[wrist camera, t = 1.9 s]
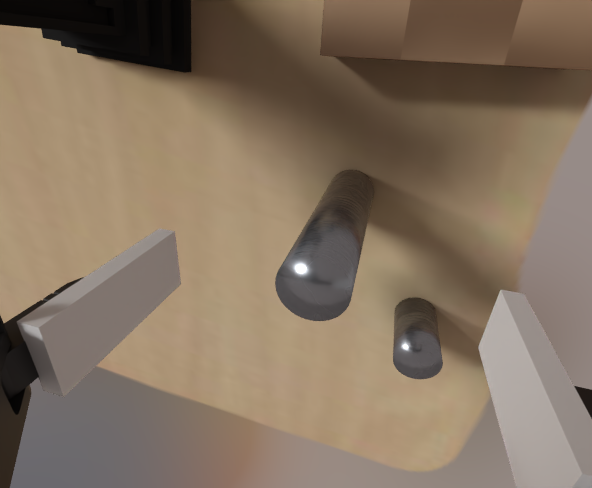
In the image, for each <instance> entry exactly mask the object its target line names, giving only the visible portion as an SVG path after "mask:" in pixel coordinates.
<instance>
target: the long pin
mask: <svg viewBox="0 0 592 488" xmlns="http://www.w3.org/2000/svg"><path fill="white" fill-rule="evenodd" d="M373 195H374V188H373V184H372V182H371V180H370V179H369V177H368V176H367V175H365V174H364V173H362V172H360V171H357V170H345V171H342V172H340V173H339V174H337V175H336V176H335V177H334V178H333V180H332V182H331V183H330V185H329V187H328V188H327V190H326V192H325V193H324V195H323V197H322V198H321V200H320V202H319V203H318V205H317V207H316V208H315V210H314V212H313V213H312V215H311V217H310V219H309V220H308V222H307V224H306V225H305V227H304V229H303V230H302V232H301V234H300V235H299V237H298V239H297V240H296V242H295V244H294V245H293V247H292V249H291V250H290V252H289V254H288V256H287V257H286V259H285V261H284V262H283V264H282V266H281V267H280V269H279V271H278V273H277V276H276V281H275V285H276V291H277V294H278V296H279V298H280V300H281V302H282V303H283V304H284V305H285V306H286V307H287V308H288V309H289V310H290V311H291V312H293V313H294V314H296V315H298V316H300V317H302V318H304V319H308V320H313V321H326V320H330V319H333V318H336V317H338V316H339V315H341V314H342V313H343V312H344V311H345V310H346V309H347V307H348V306H349V303H350V301H351V296H352V292H353V287H354V282H355V278H356V273H357V269H358V264H359V259H360V255H361V250H362V246H363V241H364V236H365V232H366V227H367V223H368V218H369V213H370V209H371V204H372V200H373Z"/></svg>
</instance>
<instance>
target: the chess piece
mask: <svg viewBox="0 0 592 488" xmlns="http://www.w3.org/2000/svg"><path fill="white" fill-rule="evenodd" d="M0 25H10V26H21V27H31V28H41V29H42V34H43V38H46V39H52V40H57V41H61V46H65V47H70V48H76V49H77V53H82V54H87V55H93V56H98V57H104V58H109V59H114V60H120V61H125V62H131V63H136V64H142V65H147V66H153V67H158V68H163V69H169V70H174V71H180V72H191V0H0Z"/></svg>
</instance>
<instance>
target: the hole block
mask: <svg viewBox="0 0 592 488" xmlns="http://www.w3.org/2000/svg"><path fill="white" fill-rule="evenodd" d="M320 55H324V56H334V57H353V58H371V59H389V60H407V61H426V62H444V63H462V64H481V65H499V66H517V67H535V68H554V69H575V70H592V0H324V10H323V24H322V38H321V52H320Z"/></svg>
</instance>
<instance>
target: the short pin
mask: <svg viewBox="0 0 592 488" xmlns="http://www.w3.org/2000/svg"><path fill="white" fill-rule="evenodd" d="M393 362H394V365H395V367H396V368H397V370H398V371H399V372H400V373H402V374H403V375H405V376H407V377H410V378H414V379H427V378H431V377H433V376H435V375H436V374H438V373H439V372H440V370H441V368H442V365H443V362H442V355H441V347H440V340H439V332H438V325H437V317H436V311H435V308H434V307H433V305H432V304H431V303H429V302H428V301H426V300H424V299H421V298H408V299H405V300H403V301H401V302H400V303H399V304H398V305H397V306H396V308H395V316H394V349H393Z"/></svg>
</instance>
